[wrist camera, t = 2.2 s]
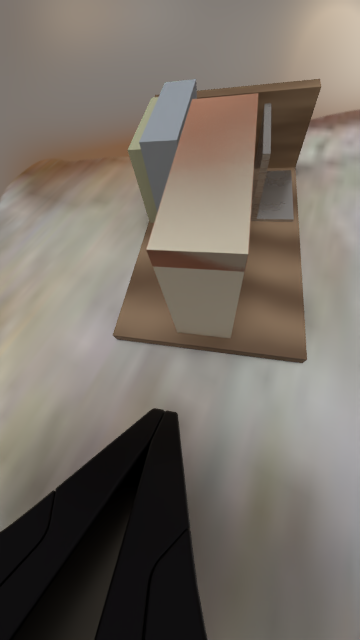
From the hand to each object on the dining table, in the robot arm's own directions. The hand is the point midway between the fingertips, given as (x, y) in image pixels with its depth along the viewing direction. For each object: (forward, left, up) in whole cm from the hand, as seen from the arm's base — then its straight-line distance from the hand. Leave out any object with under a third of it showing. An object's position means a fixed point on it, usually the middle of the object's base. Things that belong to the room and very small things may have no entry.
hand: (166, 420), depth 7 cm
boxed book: (+10, +10, -9) cm, 17 cm away
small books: (+13, +21, -10) cm, 27 cm away
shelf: (+13, +13, -10) cm, 21 cm away
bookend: (+21, +13, -9) cm, 27 cm away
